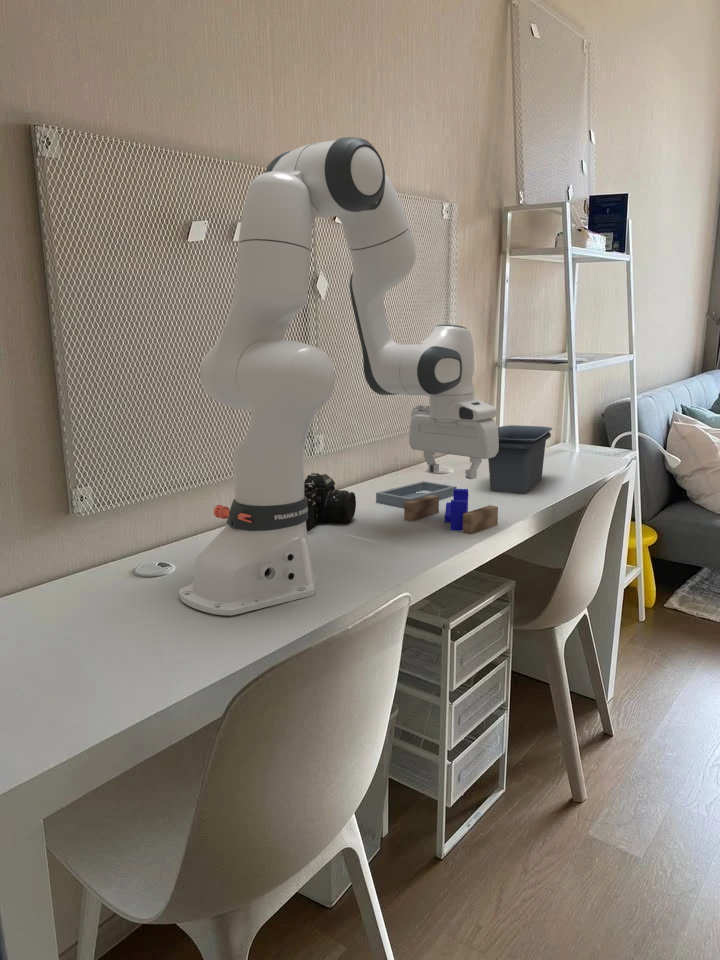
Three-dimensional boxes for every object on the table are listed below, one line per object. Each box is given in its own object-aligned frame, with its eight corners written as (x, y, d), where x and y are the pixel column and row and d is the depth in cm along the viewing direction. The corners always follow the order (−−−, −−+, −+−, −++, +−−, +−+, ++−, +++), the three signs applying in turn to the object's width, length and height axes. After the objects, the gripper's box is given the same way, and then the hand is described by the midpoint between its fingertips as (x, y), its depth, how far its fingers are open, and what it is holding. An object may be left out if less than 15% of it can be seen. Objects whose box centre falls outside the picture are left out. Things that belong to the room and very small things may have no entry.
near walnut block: (471, 535, 145) (471, 515, 145) (462, 533, 147) (463, 513, 146) (497, 526, 152) (497, 506, 151) (489, 524, 153) (489, 505, 152)
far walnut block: (411, 522, 156) (411, 503, 155) (404, 520, 157) (404, 502, 156) (438, 514, 162) (438, 496, 161) (431, 512, 163) (431, 494, 163)
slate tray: (409, 510, 165) (409, 499, 164) (376, 503, 172) (376, 492, 171) (456, 497, 177) (456, 486, 176) (423, 491, 184) (423, 481, 183)
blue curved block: (446, 516, 160) (446, 488, 159) (467, 516, 160) (468, 489, 158) (442, 531, 149) (443, 501, 148) (465, 531, 148) (466, 502, 147)
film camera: (356, 532, 149) (355, 482, 147) (293, 533, 148) (292, 484, 146) (356, 510, 166) (355, 466, 164) (300, 511, 166) (298, 467, 164)
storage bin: (533, 500, 172) (535, 438, 170) (468, 494, 179) (469, 435, 176) (553, 482, 191) (555, 427, 188) (494, 478, 198) (495, 424, 195)
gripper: (401, 406, 155) (402, 472, 158) (484, 412, 141) (484, 484, 144) (421, 403, 159) (422, 467, 162) (503, 409, 145) (502, 479, 148)
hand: (451, 475), depth 153 cm, fingers open, 8 cm apart
